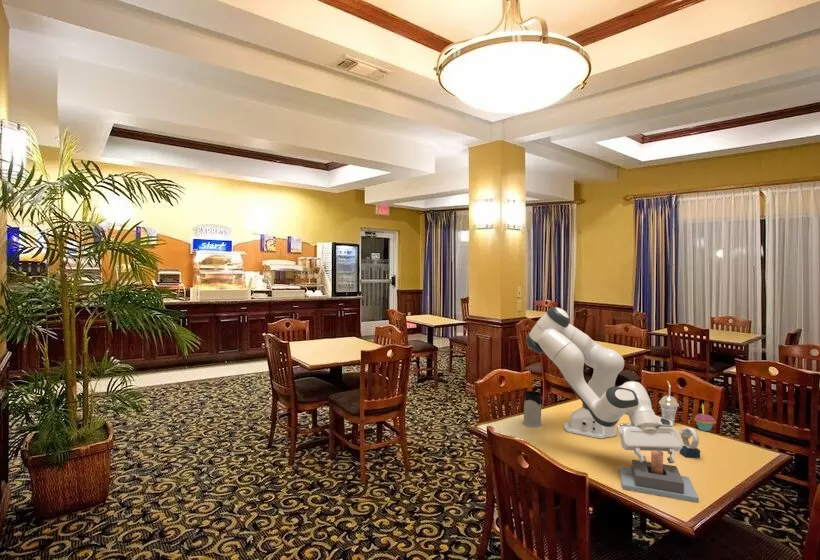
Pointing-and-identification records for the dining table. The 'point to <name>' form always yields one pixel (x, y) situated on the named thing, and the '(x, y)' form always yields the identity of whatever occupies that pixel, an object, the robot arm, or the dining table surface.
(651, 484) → the tool stand
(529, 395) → the glass holder
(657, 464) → the brown upright cylinder
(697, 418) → the cupcake
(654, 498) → the dining table surface
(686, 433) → the watch
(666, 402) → the cup with straw
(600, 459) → the dining table surface
